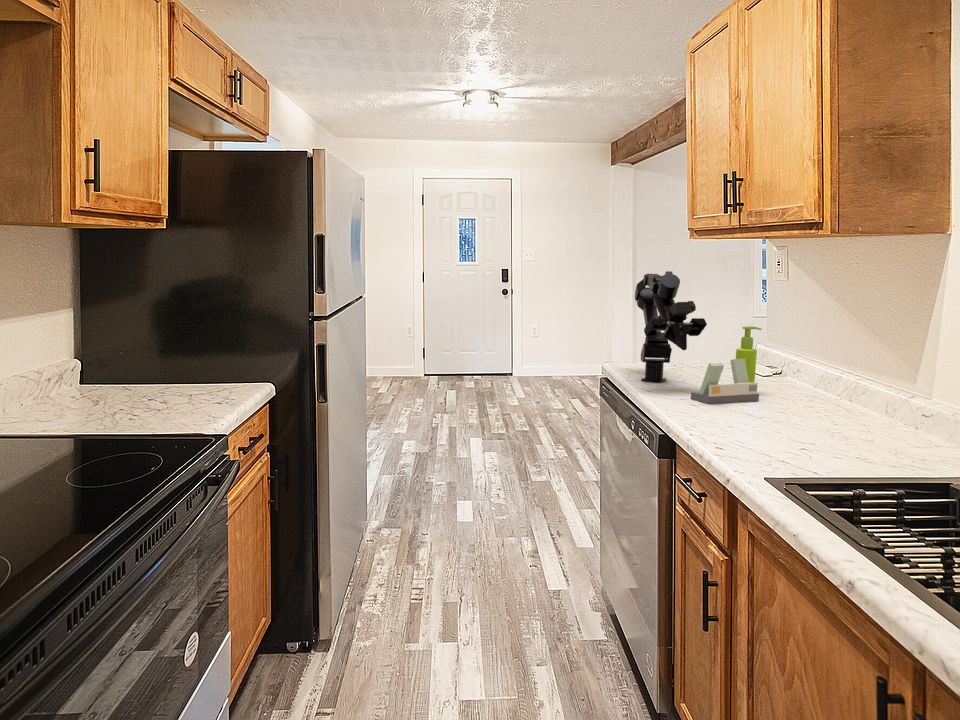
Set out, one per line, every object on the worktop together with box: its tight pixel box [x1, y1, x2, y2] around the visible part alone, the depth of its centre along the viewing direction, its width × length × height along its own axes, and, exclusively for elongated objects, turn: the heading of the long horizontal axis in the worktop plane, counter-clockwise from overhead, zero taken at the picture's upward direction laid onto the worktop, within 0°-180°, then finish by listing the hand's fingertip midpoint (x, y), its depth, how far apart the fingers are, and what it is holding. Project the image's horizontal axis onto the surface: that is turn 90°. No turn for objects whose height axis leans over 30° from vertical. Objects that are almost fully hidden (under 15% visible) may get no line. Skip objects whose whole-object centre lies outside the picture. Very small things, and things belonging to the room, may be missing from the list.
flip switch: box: [699, 362, 725, 394], centre depth 228 cm, size 2×4×9 cm, turn 114°
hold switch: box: [730, 358, 749, 384], centre depth 236 cm, size 2×4×9 cm, turn 113°
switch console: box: [690, 381, 760, 405], centre depth 233 cm, size 8×18×5 cm, turn 113°
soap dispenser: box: [735, 326, 763, 383], centre depth 245 cm, size 6×7×20 cm
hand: (685, 349), depth 241 cm, fingers closed
